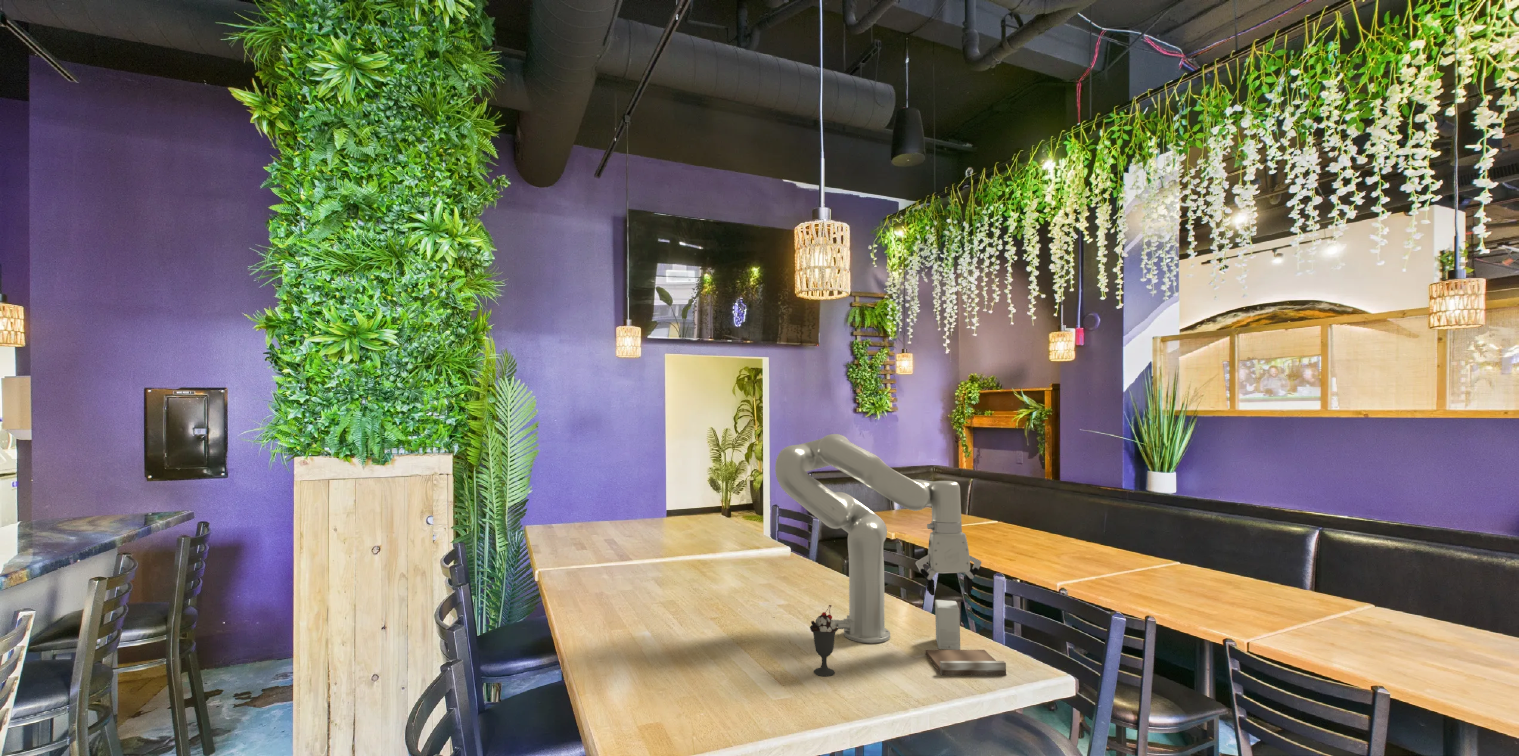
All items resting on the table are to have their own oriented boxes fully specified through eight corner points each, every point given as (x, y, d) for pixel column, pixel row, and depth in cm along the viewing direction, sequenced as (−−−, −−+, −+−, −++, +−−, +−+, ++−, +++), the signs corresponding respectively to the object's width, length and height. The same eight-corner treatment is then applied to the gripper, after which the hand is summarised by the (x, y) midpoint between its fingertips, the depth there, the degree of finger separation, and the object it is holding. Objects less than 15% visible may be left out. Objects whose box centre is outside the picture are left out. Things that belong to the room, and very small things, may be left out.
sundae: (841, 668, 147) (841, 603, 148) (835, 679, 141) (835, 611, 142) (813, 664, 149) (814, 600, 150) (806, 675, 143) (806, 608, 144)
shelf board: (941, 675, 144) (941, 662, 144) (925, 654, 157) (925, 643, 157) (1006, 675, 144) (1005, 662, 144) (984, 654, 157) (984, 643, 157)
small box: (960, 651, 159) (960, 609, 160) (937, 649, 160) (937, 607, 161) (957, 640, 167) (956, 600, 168) (935, 638, 168) (935, 599, 169)
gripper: (918, 530, 162) (921, 598, 161) (984, 529, 162) (987, 596, 161) (911, 526, 169) (913, 590, 168) (973, 525, 170) (976, 589, 168)
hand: (949, 593), depth 164 cm, fingers open, 9 cm apart
